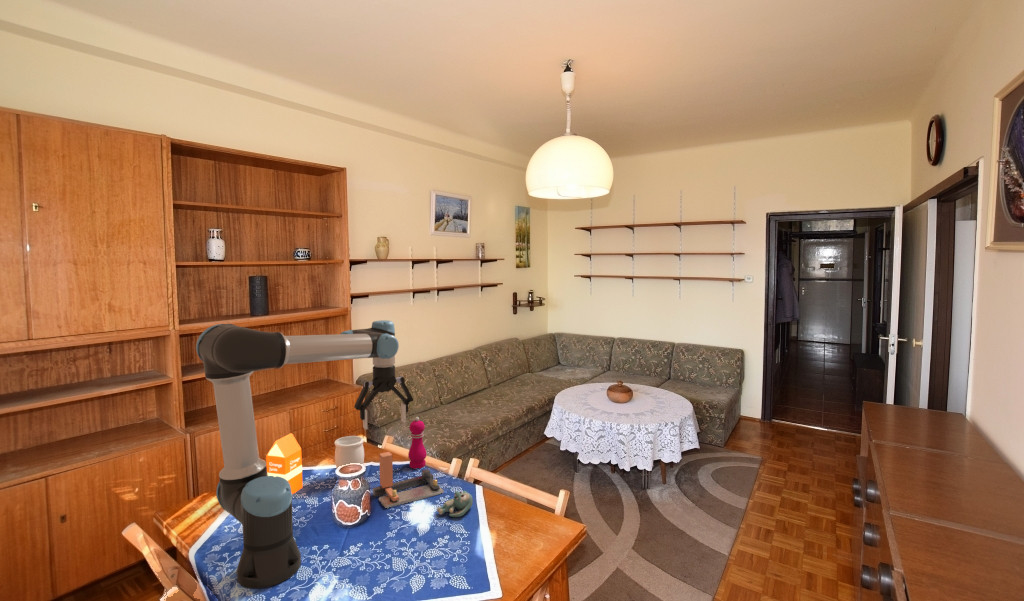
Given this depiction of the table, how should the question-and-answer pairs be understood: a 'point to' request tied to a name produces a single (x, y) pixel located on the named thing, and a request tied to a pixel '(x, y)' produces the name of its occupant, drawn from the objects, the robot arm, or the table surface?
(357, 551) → the table surface
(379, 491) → the rail
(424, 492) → the bolt plate
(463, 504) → the stuffed animal
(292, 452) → the orange juice
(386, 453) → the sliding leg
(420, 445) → the pepper mill
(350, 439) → the jar
